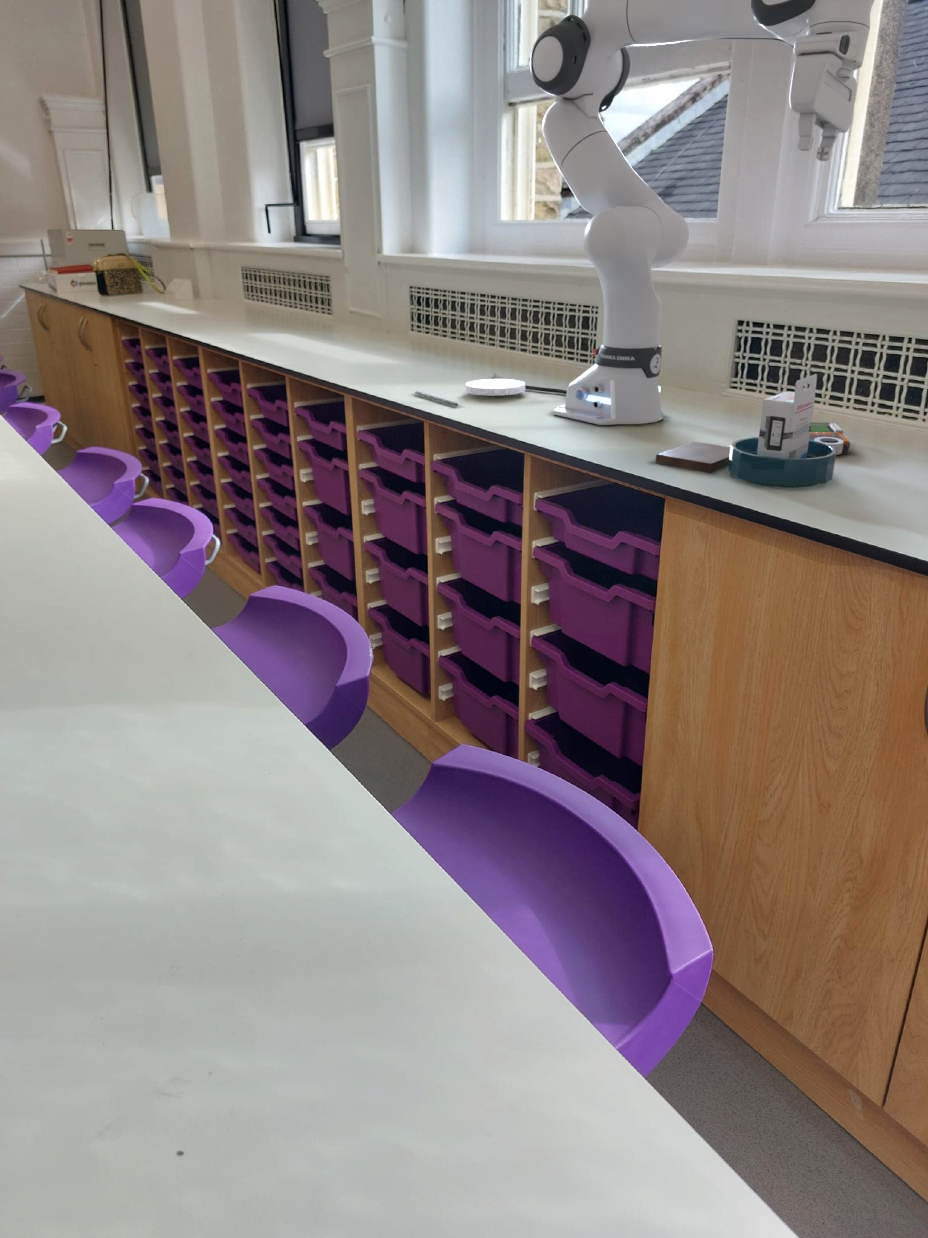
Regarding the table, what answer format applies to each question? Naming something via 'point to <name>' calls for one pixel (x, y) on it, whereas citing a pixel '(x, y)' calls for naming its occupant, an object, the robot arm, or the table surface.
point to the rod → (436, 398)
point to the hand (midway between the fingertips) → (813, 155)
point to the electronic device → (830, 436)
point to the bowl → (781, 465)
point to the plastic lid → (495, 387)
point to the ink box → (787, 422)
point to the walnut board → (696, 457)
